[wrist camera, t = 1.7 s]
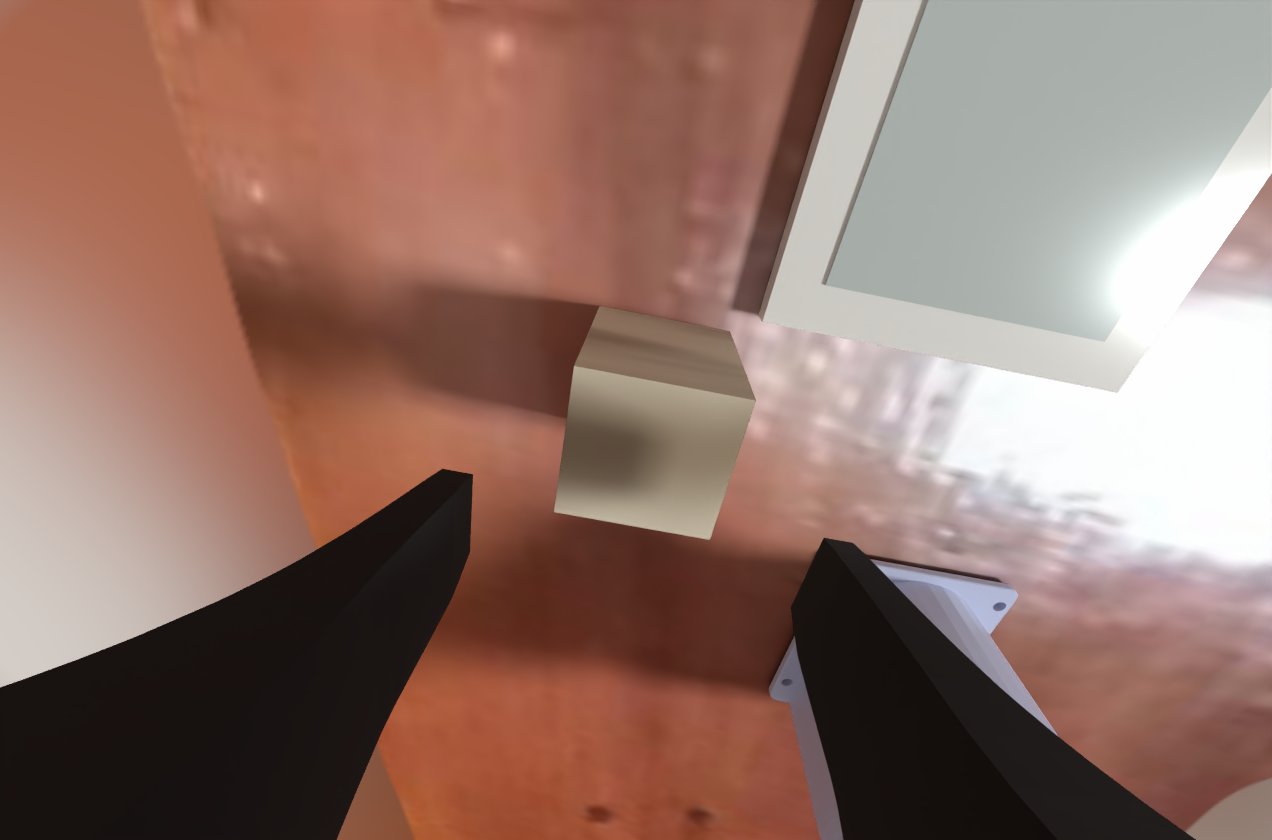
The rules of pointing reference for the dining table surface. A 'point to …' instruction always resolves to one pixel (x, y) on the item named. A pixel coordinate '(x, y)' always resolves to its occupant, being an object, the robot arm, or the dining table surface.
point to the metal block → (653, 424)
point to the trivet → (1025, 177)
